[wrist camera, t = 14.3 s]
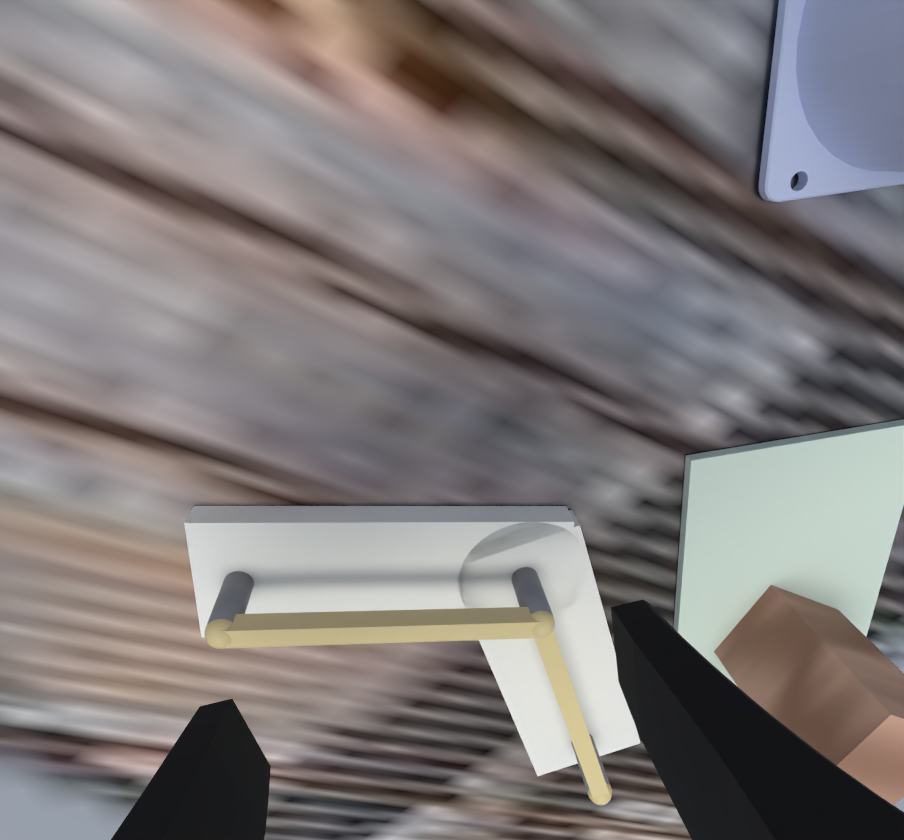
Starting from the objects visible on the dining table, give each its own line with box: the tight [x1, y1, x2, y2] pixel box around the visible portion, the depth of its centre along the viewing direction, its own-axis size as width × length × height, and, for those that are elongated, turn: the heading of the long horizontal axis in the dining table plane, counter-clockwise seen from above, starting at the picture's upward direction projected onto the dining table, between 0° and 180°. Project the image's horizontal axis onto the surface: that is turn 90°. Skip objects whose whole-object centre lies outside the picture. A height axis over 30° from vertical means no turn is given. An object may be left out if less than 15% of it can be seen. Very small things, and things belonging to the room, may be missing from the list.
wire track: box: [184, 506, 640, 805], centre depth 21 cm, size 17×17×4 cm
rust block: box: [714, 585, 904, 805], centre depth 21 cm, size 4×4×6 cm
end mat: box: [673, 419, 904, 687], centre depth 24 cm, size 9×19×1 cm, turn 7°
